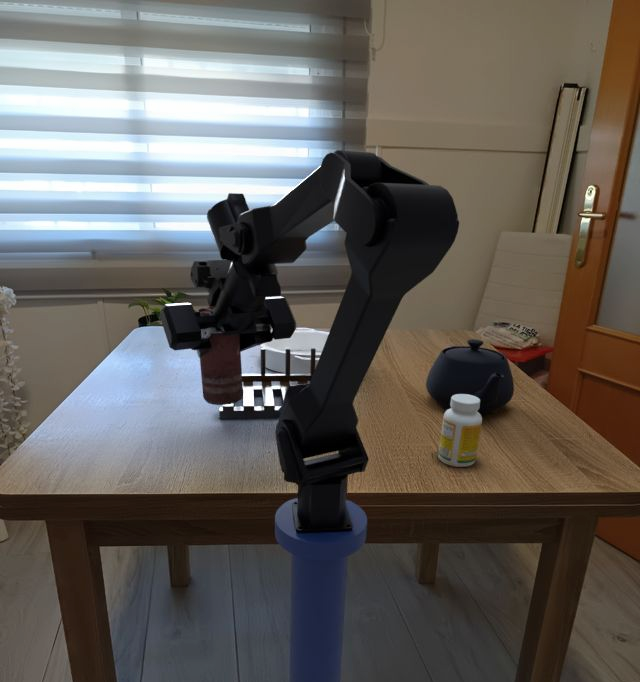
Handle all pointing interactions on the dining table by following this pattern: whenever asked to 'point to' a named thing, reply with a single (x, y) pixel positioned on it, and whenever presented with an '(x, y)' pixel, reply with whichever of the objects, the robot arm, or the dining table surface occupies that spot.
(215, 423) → the dining table surface
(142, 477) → the dining table surface
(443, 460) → the supplement bottle
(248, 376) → the dish rack
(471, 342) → the teapot
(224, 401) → the can
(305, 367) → the pot
